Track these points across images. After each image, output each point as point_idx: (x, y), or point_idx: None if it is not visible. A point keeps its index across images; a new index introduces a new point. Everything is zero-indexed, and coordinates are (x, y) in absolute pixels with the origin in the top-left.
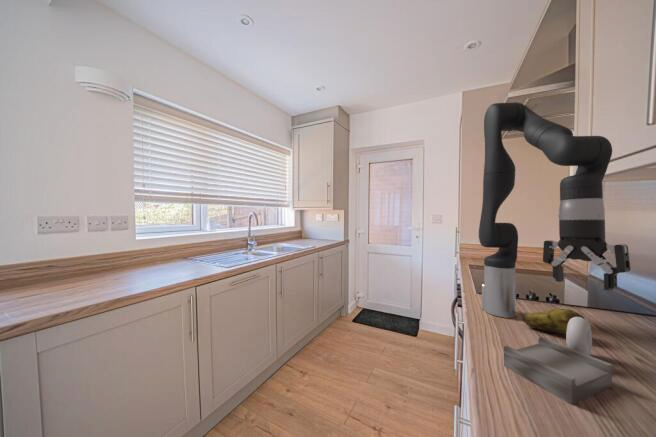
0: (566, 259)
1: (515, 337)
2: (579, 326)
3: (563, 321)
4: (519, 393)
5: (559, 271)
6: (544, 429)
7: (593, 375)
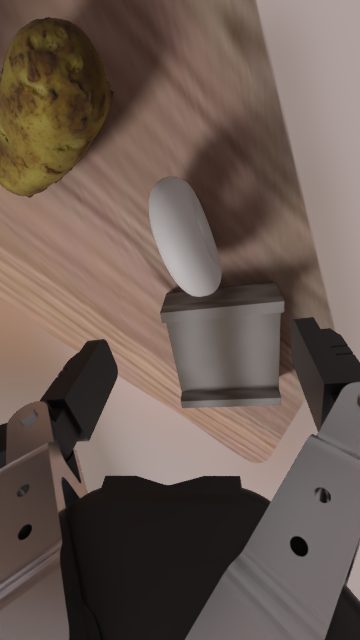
0: (69, 475)
1: (93, 276)
2: (206, 286)
3: (84, 150)
4: (237, 410)
5: (96, 411)
6: (283, 430)
7: (273, 337)
